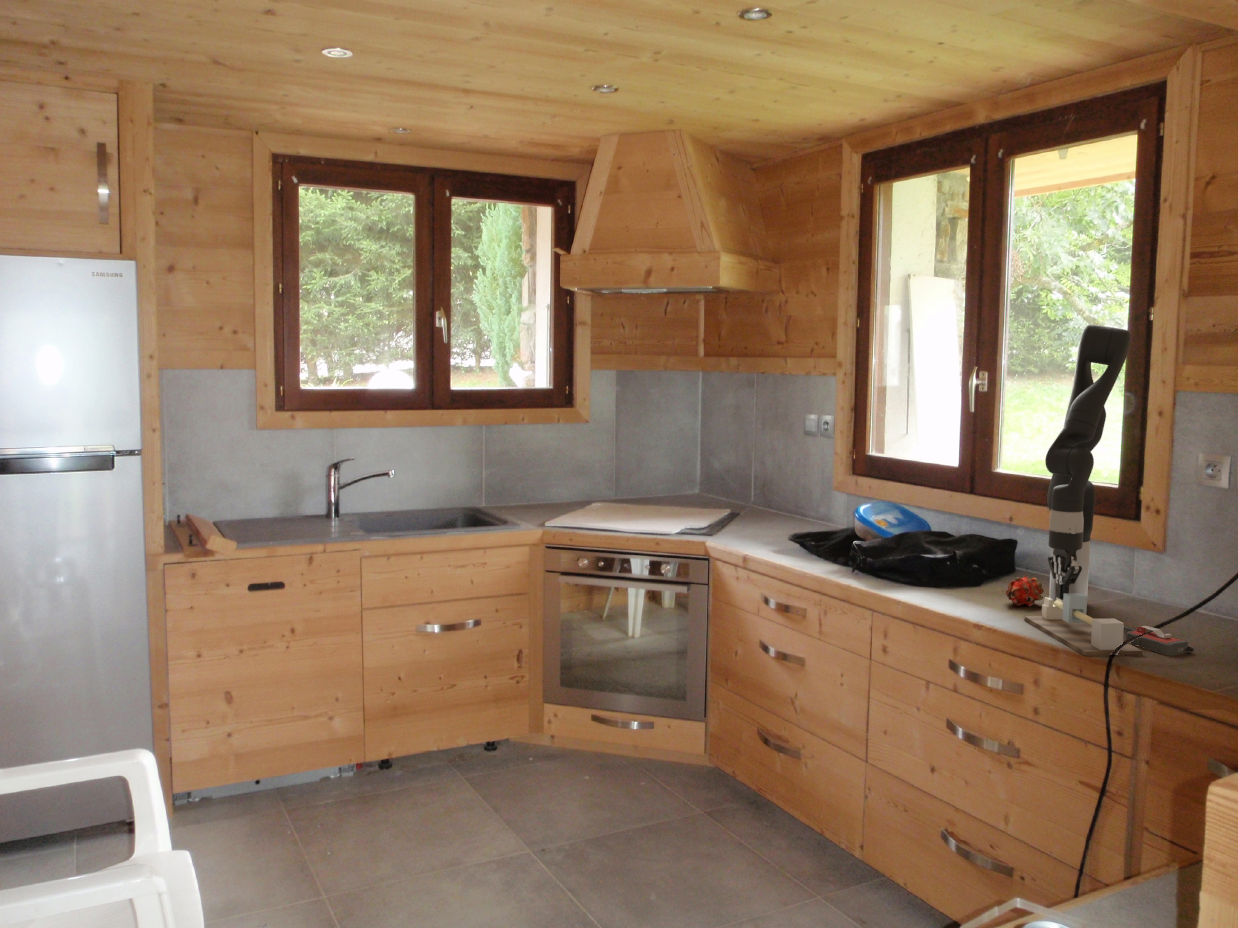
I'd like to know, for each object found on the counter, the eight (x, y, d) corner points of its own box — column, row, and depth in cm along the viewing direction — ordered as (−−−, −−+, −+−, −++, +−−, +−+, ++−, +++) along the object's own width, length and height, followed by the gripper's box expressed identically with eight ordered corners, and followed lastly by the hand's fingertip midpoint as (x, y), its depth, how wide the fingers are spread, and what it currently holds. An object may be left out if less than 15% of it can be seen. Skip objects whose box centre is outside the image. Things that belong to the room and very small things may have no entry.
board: (1024, 620, 248) (1024, 616, 248) (1075, 619, 249) (1075, 615, 248) (1084, 655, 218) (1084, 651, 218) (1142, 655, 219) (1142, 650, 219)
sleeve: (1062, 619, 237) (1063, 593, 237) (1079, 619, 238) (1080, 593, 237) (1068, 622, 235) (1069, 596, 234) (1085, 622, 235) (1087, 596, 234)
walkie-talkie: (1200, 654, 221) (1124, 632, 239) (1202, 635, 220) (1125, 614, 239) (1173, 659, 217) (1097, 635, 236) (1174, 639, 217) (1098, 617, 235)
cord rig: (1041, 616, 247) (1042, 593, 247) (1061, 616, 247) (1062, 593, 247) (1100, 649, 219) (1101, 623, 219) (1122, 649, 219) (1124, 623, 219)
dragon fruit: (1042, 608, 266) (1011, 620, 261) (1020, 585, 271) (989, 596, 266) (1057, 587, 260) (1026, 599, 255) (1034, 564, 266) (1003, 575, 260)
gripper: (1038, 524, 246) (1035, 592, 248) (1064, 533, 233) (1060, 605, 235) (1068, 524, 246) (1064, 592, 248) (1095, 533, 233) (1091, 605, 235)
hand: (1062, 598), depth 242 cm, fingers closed
